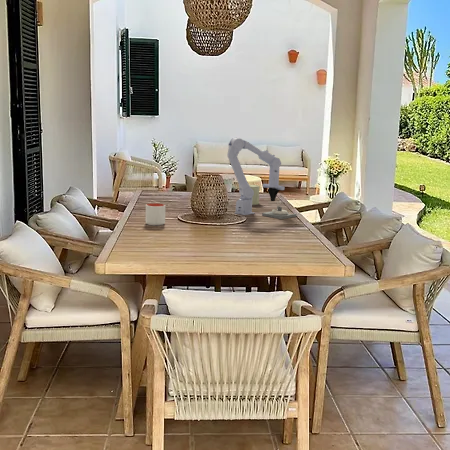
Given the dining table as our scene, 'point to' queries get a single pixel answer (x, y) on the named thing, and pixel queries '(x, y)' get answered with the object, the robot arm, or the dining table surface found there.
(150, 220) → the cup
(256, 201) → the can
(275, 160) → the robot arm
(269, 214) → the dial plate
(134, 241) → the dining table surface
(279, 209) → the dial
